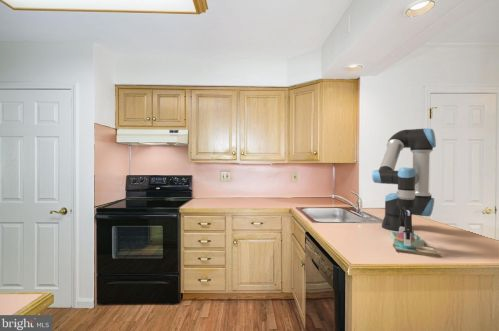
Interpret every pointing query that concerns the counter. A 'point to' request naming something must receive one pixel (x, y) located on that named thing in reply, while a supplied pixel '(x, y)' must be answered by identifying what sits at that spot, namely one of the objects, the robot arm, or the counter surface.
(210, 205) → the counter surface
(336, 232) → the counter surface
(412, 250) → the board
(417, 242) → the tray
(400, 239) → the cupcake
